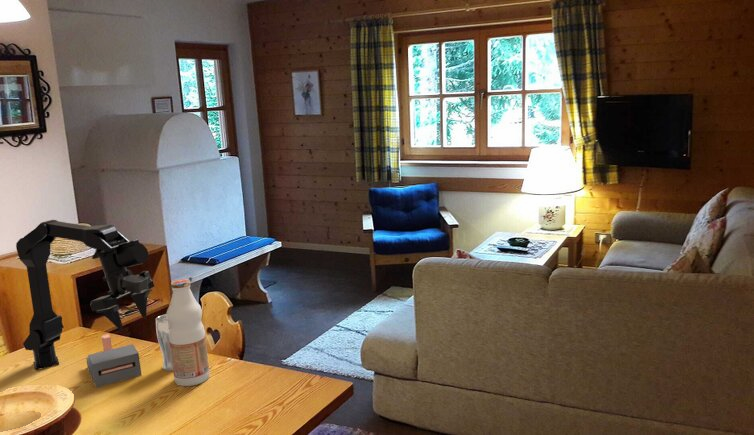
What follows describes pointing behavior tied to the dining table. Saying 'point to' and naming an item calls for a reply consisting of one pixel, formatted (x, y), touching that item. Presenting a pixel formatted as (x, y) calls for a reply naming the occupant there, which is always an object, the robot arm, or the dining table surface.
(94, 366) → the grey slotted box
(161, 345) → the beer glass
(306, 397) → the dining table surface
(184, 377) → the fruit juice
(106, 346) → the pink t-shaped block
